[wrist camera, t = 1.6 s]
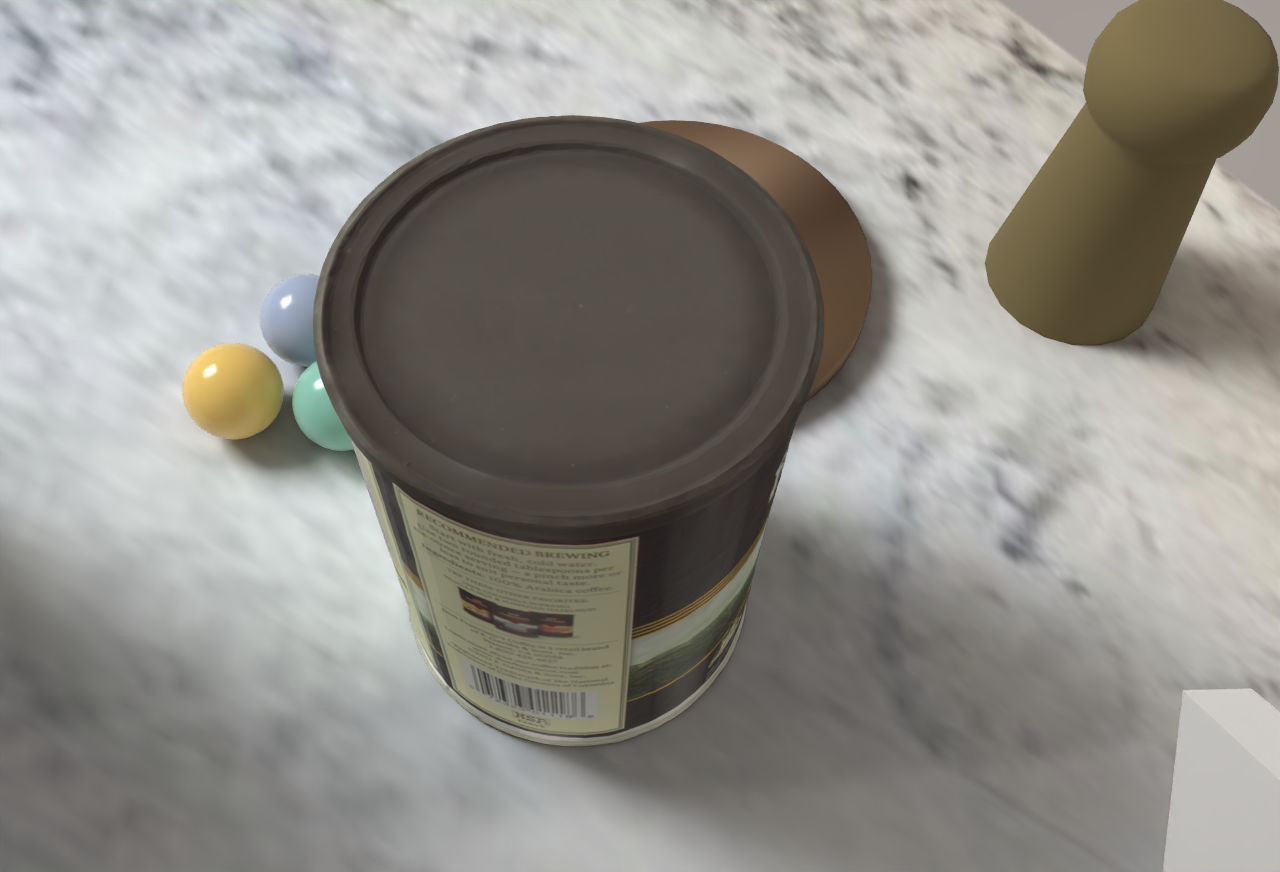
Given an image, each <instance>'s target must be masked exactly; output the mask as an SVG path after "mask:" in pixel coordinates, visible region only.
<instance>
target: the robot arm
mask: <svg viewBox="0 0 1280 872" xmlns="http://www.w3.org/2000/svg"><path fill="white" fill-rule="evenodd" d="M1163 872H1280V712H1279V711H1278V710H1277V709H1275V708H1274V707H1273V706H1272V705H1271V704H1269V703H1268V702H1267V701H1266V700H1265V699H1263V698H1262V697H1261V696H1260V695H1259V694H1257V693H1256V692H1255V691H1254V690H1253V689H1251V688H1249V689H1209V690H1183V694H1182V703H1181V712H1180V721H1179V730H1178V739H1177V748H1176V757H1175V766H1174V775H1173V783H1172V792H1171V801H1170V810H1169V819H1168V828H1167V837H1166V846H1165V855H1164V864H1163Z"/></svg>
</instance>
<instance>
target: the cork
mask: <svg viewBox="0 0 1280 872" xmlns="http://www.w3.org/2000/svg"><path fill="white" fill-rule="evenodd" d="M1278 71H1279V67H1278V59H1277V53H1276V51H1275V48H1274V46H1273V43H1272V40H1271V37H1270V36H1269V35H1268V34H1267V32H1266V31H1265V30H1264V29H1263V28H1262V26H1261V25H1260V24H1259V23H1258V22H1257V21H1256V20H1255V19H1254V18H1252V17H1251V16H1249V15H1248V14H1246V13H1245V12H1244V11H1243V10H1241V9H1240V8H1239V7H1236V6H1234V5H1232V4H1230V3H1227V2H1225V1H1223V0H1139V1H1137V2H1136V3H1134V4H1132V5H1130V6H1128V7H1127V8H1125V9H1124V10H1122V11H1120V12H1118V13H1117V14H1116V16H1115V17H1114V18H1113V19H1112V20H1111V22H1110V23H1109V24H1108V25H1107V26H1106V28H1105V29H1104V30H1103V32H1102V33H1101V34H1100V35H1099V37H1098V38H1097V39H1096V41H1095V43H1094V45H1093V47H1092V50H1091V52H1090V55H1089V58H1088V63H1087V68H1086V73H1085V80H1084V88H1083V91H1084V95H1085V99H1086V104H1085V105H1084V106H1083V108H1082V109H1081V111H1080V112H1079V114H1078V115H1077V117H1076V118H1075V120H1074V121H1073V123H1072V124H1071V125H1070V127H1069V128H1068V130H1067V131H1066V133H1065V134H1064V136H1063V137H1062V139H1061V140H1060V142H1059V143H1058V144H1057V146H1056V147H1055V149H1054V150H1053V152H1052V153H1051V155H1050V156H1049V158H1048V159H1047V161H1046V162H1045V163H1044V165H1043V166H1042V168H1041V169H1040V171H1039V172H1038V174H1037V175H1036V177H1035V178H1034V180H1033V181H1032V182H1031V184H1030V185H1029V187H1028V188H1027V190H1026V191H1025V193H1024V194H1023V196H1022V197H1021V199H1020V200H1019V201H1018V203H1017V204H1016V206H1015V207H1014V209H1013V210H1012V212H1011V213H1010V215H1009V216H1008V218H1007V219H1006V220H1005V222H1004V223H1003V225H1002V226H1001V228H1000V229H999V231H998V232H997V234H996V235H995V236H994V238H993V239H992V241H991V242H990V244H989V248H988V253H987V257H986V261H985V265H986V271H987V276H988V282H989V285H990V287H991V289H992V290H993V292H994V294H995V296H996V297H997V299H998V301H999V303H1000V304H1001V306H1003V307H1004V308H1005V309H1006V310H1007V311H1008V312H1009V313H1010V314H1011V315H1012V316H1013V317H1014V318H1015V319H1016V320H1017V321H1018V322H1019V323H1021V324H1022V325H1024V326H1026V327H1028V328H1030V329H1031V330H1033V331H1035V332H1037V333H1039V334H1040V335H1042V336H1044V337H1047V338H1051V339H1054V340H1058V341H1062V342H1065V343H1069V344H1079V345H1101V344H1105V343H1108V342H1112V341H1116V340H1120V339H1123V338H1125V337H1126V336H1128V335H1129V334H1131V333H1132V332H1134V331H1135V330H1136V329H1138V328H1139V327H1141V326H1142V325H1143V323H1144V321H1145V320H1146V318H1147V317H1148V315H1149V314H1150V312H1151V310H1152V309H1153V307H1154V304H1155V302H1156V300H1157V297H1158V295H1159V293H1160V290H1161V288H1162V286H1163V283H1164V281H1165V278H1166V276H1167V274H1168V271H1169V269H1170V267H1171V264H1172V262H1173V260H1174V257H1175V255H1176V253H1177V250H1178V248H1179V246H1180V243H1181V241H1182V238H1183V236H1184V234H1185V231H1186V229H1187V227H1188V224H1189V222H1190V220H1191V217H1192V215H1193V213H1194V210H1195V208H1196V206H1197V203H1198V201H1199V199H1200V196H1201V194H1202V191H1203V189H1204V187H1205V184H1206V182H1207V180H1208V177H1209V175H1210V173H1211V170H1212V168H1213V166H1214V163H1215V161H1216V159H1217V158H1220V157H1221V156H1223V155H1225V154H1226V153H1228V152H1229V151H1231V150H1233V149H1234V148H1235V147H1237V146H1238V145H1240V144H1241V143H1242V142H1243V141H1244V140H1246V139H1247V138H1248V137H1249V136H1250V135H1251V134H1252V133H1253V132H1254V130H1255V129H1256V127H1257V126H1258V124H1259V123H1260V121H1261V120H1262V118H1263V117H1264V115H1265V114H1266V112H1267V111H1268V109H1269V108H1270V106H1271V104H1272V103H1273V100H1274V96H1275V93H1276V90H1277V84H1278Z"/></svg>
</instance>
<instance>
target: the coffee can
mask: <svg viewBox="0 0 1280 872" xmlns="http://www.w3.org/2000/svg"><path fill="white" fill-rule="evenodd" d="M823 340H824V304H823V297H822V293H821V287H820V283H819V279H818V276H817V273H816V270H815V267H814V264H813V261H812V259H811V256H810V253H809V251H808V248H807V246H806V244H805V242H804V241H803V239H802V237H801V236H800V234H799V232H798V230H797V228H796V226H795V224H794V223H793V221H792V220H791V219H790V217H789V216H788V215H787V213H786V212H785V211H784V210H783V208H782V207H781V206H780V205H779V204H778V203H777V201H776V200H775V199H774V198H773V197H772V196H771V195H770V194H769V193H768V192H767V190H766V189H765V188H764V187H763V186H761V185H760V184H759V183H758V182H757V181H756V180H754V179H753V178H752V177H751V176H750V175H748V174H747V173H746V172H745V171H743V170H742V169H740V168H739V167H737V166H736V165H734V164H733V163H731V162H730V161H728V160H726V159H725V158H723V157H722V156H720V155H719V154H717V153H715V152H714V151H712V150H710V149H708V148H707V147H705V146H703V145H701V144H698V143H696V142H693V141H691V140H689V139H686V138H684V137H681V136H679V135H676V134H674V133H671V132H667V131H664V130H660V129H657V128H655V127H651V126H648V125H644V124H640V123H636V122H631V121H627V120H620V119H613V118H605V117H592V116H574V115H570V116H558V117H557V116H550V117H536V118H528V119H521V120H516V121H511V122H505V123H499V124H496V125H493V126H489V127H485V128H482V129H478V130H474V131H472V132H469V133H466V134H464V135H461V136H458V137H456V138H453V139H451V140H448V141H446V142H444V143H442V144H440V145H437V146H435V147H433V148H431V149H429V150H428V151H426V152H424V153H422V154H421V155H419V156H417V157H416V158H414V159H412V160H411V161H409V162H408V163H406V164H404V165H403V166H401V167H400V168H399V169H397V170H396V171H395V172H393V173H392V174H391V175H390V176H389V177H388V178H387V179H385V180H384V181H383V182H381V183H380V184H379V185H378V186H377V187H376V188H375V189H374V190H373V191H372V192H371V193H370V194H369V195H368V196H367V197H366V198H364V199H363V201H362V202H361V203H360V204H359V205H358V207H357V208H356V209H355V210H354V211H353V213H352V214H351V216H350V217H349V218H348V220H347V221H346V223H345V224H344V226H343V227H342V229H341V230H340V232H339V233H338V235H337V237H336V239H335V241H334V242H333V244H332V246H331V248H330V250H329V252H328V255H327V257H326V259H325V262H324V264H323V267H322V271H321V274H320V277H319V281H318V284H317V289H316V295H315V299H314V310H313V343H314V350H315V355H316V361H317V366H318V369H319V373H320V376H321V380H322V382H323V385H324V387H325V390H326V392H327V394H328V397H329V399H330V401H331V404H332V406H333V408H334V410H335V412H336V413H337V415H338V417H339V419H340V420H341V422H342V424H343V426H344V428H345V430H346V432H347V434H348V435H349V436H350V439H351V442H352V445H353V448H354V450H355V453H356V456H357V459H358V463H359V466H360V469H361V472H362V475H363V477H364V480H365V483H366V486H367V489H368V491H369V494H370V497H371V500H372V503H373V506H374V509H375V512H376V515H377V518H378V521H379V524H380V527H381V529H382V532H383V535H384V539H385V542H386V545H387V548H388V551H389V554H390V556H391V558H392V561H393V564H394V566H395V569H396V572H397V576H398V579H399V582H400V585H401V587H402V590H403V593H404V596H405V599H406V602H407V605H408V610H409V619H410V622H411V626H412V629H413V632H414V635H415V638H416V641H417V645H418V647H419V649H420V652H421V654H422V656H423V658H424V660H425V662H426V663H427V665H428V667H429V669H430V670H431V672H432V673H433V675H434V676H435V678H436V679H437V680H438V682H439V683H440V684H441V685H442V687H443V688H444V689H445V690H446V691H447V692H448V693H449V694H450V695H451V696H452V697H453V698H454V699H455V700H456V701H457V702H458V703H459V704H460V705H461V706H462V707H464V708H465V709H466V710H467V711H469V712H470V713H472V714H473V715H475V716H476V717H477V718H478V719H479V720H480V721H481V722H484V723H487V724H489V725H491V726H493V727H495V728H497V729H499V730H502V731H504V732H506V733H509V734H511V735H514V736H517V737H520V738H524V739H527V740H531V741H535V742H539V743H544V744H552V745H560V746H591V745H599V744H606V743H616V742H620V741H623V740H626V739H630V738H632V737H635V736H637V735H639V734H642V733H645V732H647V731H650V730H652V729H655V728H657V727H659V726H661V725H662V724H664V723H665V722H667V721H669V720H671V719H673V718H674V717H676V716H677V715H678V714H680V713H681V712H683V711H684V710H685V709H687V708H688V707H689V706H690V705H691V704H692V703H694V702H695V701H696V700H697V699H698V698H699V697H700V696H701V695H702V694H703V693H704V692H705V691H706V690H707V689H708V688H709V687H710V685H711V684H712V683H713V682H714V681H715V679H716V678H717V677H718V675H719V674H720V673H721V671H722V670H723V669H724V667H725V666H726V664H727V662H728V660H729V658H730V657H731V655H732V653H733V651H734V648H735V646H736V643H737V641H738V638H739V635H740V632H741V629H742V625H743V621H744V616H745V611H746V604H747V597H748V594H749V591H750V587H751V581H752V577H753V574H754V570H755V565H756V561H757V557H758V554H759V550H760V546H761V543H762V539H763V536H764V532H765V528H766V525H767V521H768V517H769V513H770V510H771V506H772V502H773V499H774V496H775V493H776V489H777V486H778V483H779V480H780V477H781V473H782V469H783V466H784V462H785V458H786V454H787V452H788V447H789V442H790V439H791V436H792V432H793V429H794V425H795V422H796V420H797V418H798V416H799V414H800V412H801V410H802V408H803V406H804V404H805V402H806V400H807V398H808V395H809V393H810V390H811V388H812V385H813V382H814V379H815V376H816V373H817V370H818V367H819V362H820V358H821V353H822V348H823Z"/></svg>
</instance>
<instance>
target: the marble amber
mask: <svg viewBox="0 0 1280 872" xmlns="http://www.w3.org/2000/svg"><path fill="white" fill-rule="evenodd" d="M182 396H183V401H184V405H185V407H186V410H187V412H188V414H189V415H190V417H191V418H192V420H193V421H194V422H195V423H196V424H197V425H198V426H199V427H200V428H201V429H203V430H204V431H206V432H207V433H209V434H211V435H214V436H216V437H220V438H224V439H243V438H247V437H251V436H253V435H256V434H258V433H259V432H261V431H263V430H264V429H266V428H267V427H268V426H269V425H270V424H271V423H272V422H273V421H274V419H275V418H276V417H277V415H278V413H279V411H280V409H281V406H282V402H283V398H284V386H283V381H282V377H281V374H280V372H279V370H278V368H277V367H276V365H275V364H274V362H273V361H272V360H271V359H270V358H269V357H268V356H267V355H266V354H264V353H263V352H262V351H260V350H258V349H256V348H254V347H252V346H249V345H246V344H240V343H224V344H219V345H216V346H213V347H211V348H209V349H207V350H205V351H203V352H202V353H201V354H199V355H198V356H197V357H196V358H195V359H194V360H193V362H192V363H191V364H190V366H189V367H188V369H187V371H186V374H185V376H184V380H183V386H182Z"/></svg>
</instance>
